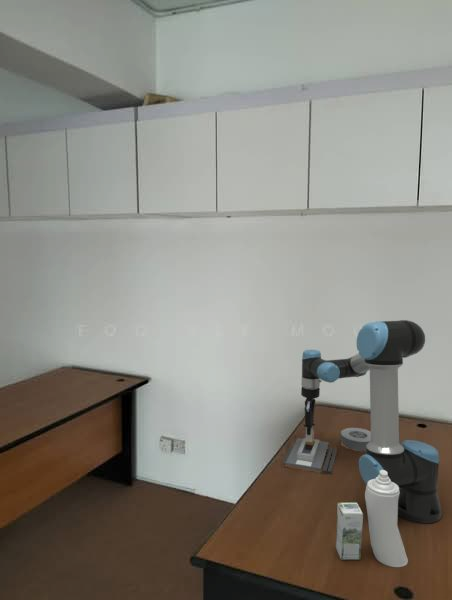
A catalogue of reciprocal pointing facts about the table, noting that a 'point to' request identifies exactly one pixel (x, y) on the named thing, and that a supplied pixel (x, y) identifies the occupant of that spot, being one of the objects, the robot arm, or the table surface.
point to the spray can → (384, 520)
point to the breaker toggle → (310, 443)
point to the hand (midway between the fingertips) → (308, 440)
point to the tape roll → (355, 438)
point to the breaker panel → (317, 459)
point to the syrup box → (349, 531)
